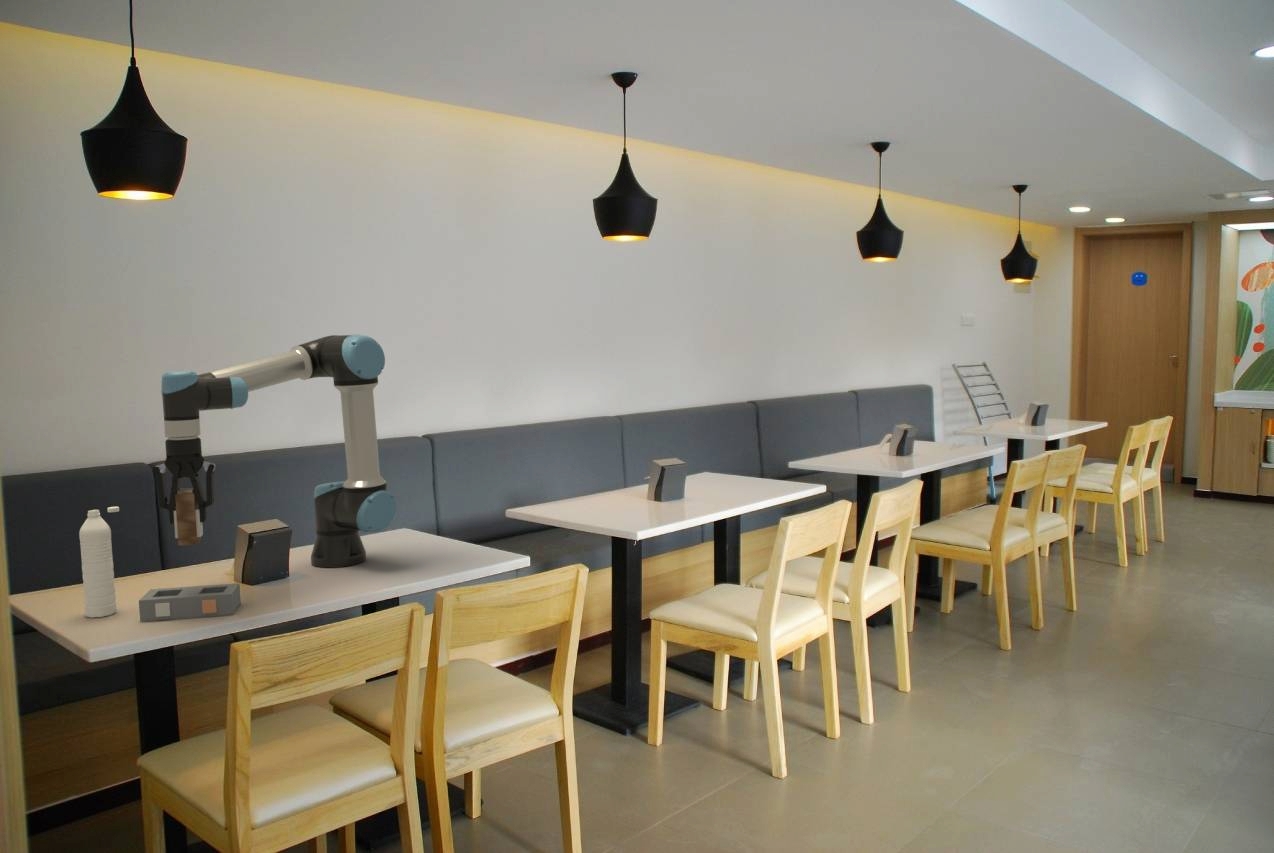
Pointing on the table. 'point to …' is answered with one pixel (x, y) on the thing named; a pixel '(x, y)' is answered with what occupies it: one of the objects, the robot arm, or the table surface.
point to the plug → (186, 517)
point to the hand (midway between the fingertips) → (189, 536)
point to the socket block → (189, 602)
